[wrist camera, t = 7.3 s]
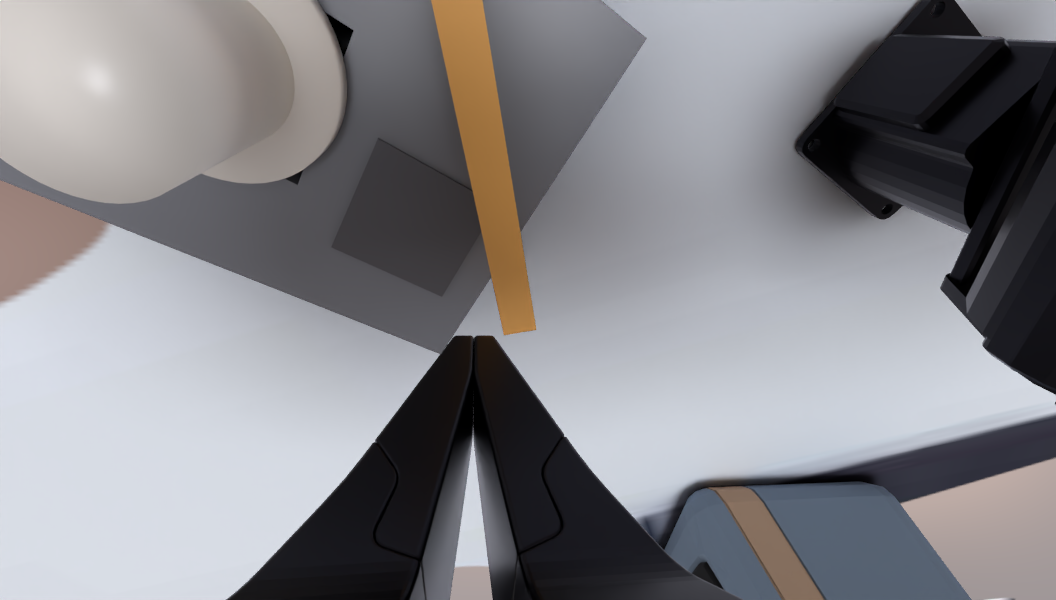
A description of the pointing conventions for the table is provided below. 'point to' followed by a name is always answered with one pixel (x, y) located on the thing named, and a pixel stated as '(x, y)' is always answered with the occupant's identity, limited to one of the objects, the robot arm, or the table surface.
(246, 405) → the table surface
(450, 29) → the orange matchstick
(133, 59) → the plug
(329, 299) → the grey flat block
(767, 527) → the retro portable television
